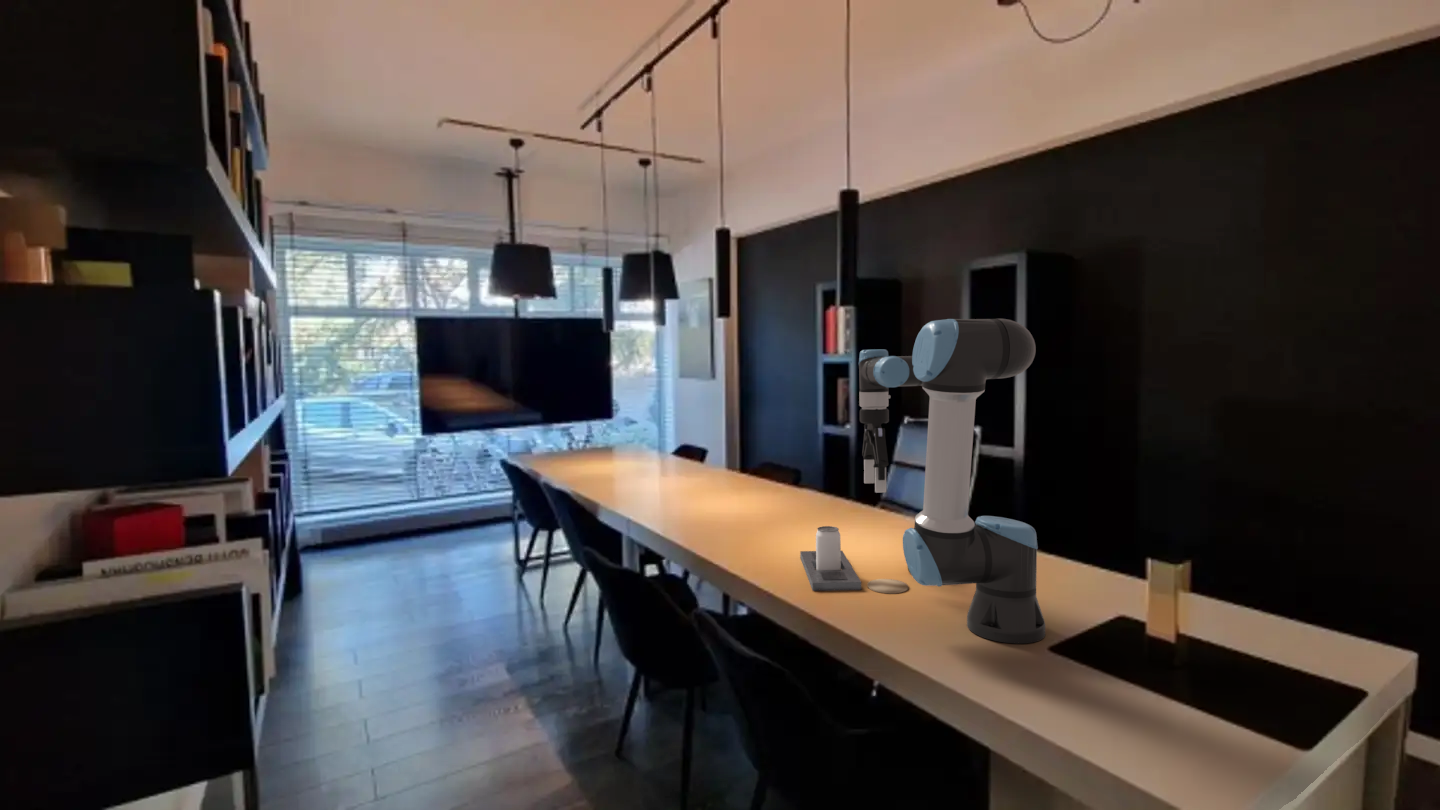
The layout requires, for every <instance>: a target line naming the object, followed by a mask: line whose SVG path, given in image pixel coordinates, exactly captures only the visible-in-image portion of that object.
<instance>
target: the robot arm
mask: <svg viewBox="0 0 1440 810" xmlns="http://www.w3.org/2000/svg"><path fill="white" fill-rule="evenodd" d="M1036 348H1037V347H1036V342H1035V339H1034V337H1033V335H1032V334H1031V332H1030V330H1028V328H1026V327H1025V326H1024V325H1022V324H1020V323H1019V322H1017V321H1014V320H1012V319H1006V318H976V319H975V318H967V319H965V318H964V319H963V318H961V319H960V318H947V319H936V320H931V321H929V322H927V323H925V325H923V326H922V328H921V329H920V331H919V332H918V334H917V336H916V338H915V342H914V345H913V349H912V354H911V355H908V356H907V355H905V356H903V355H901V356H899V355H898V356H896V355H889V351H888V350H887V349H862V350H861V351H860V352H859V358H858V369H859V371H858V372H859V374H858V375H859V381H858V382H859V395H858V396H859V398H858V399H859V401H858V403H859V407H861V408H860V410H859V422H860V423H861V424H864V425H863V427H864V428H863V429H864V431H863V432H864V433H863V443H862V452H861V456H862V457H863V470H864V471H863V483H864V484H874V493H876V494H877V493H882V494H883V493H887V466H889V464H890V462H889V457H888V449H887V441H886V429H885V427H882V424H887V423H889V422H890V410H889V408H887V407H889V405H890V404H889V399H891V395H890V394H889V388H898V387H919V386H921V387H922V390H923V391H925V393H926V394H927V395H928V396H929V402H928V420H927V435H926V436H927V439H926V454H925V468H924V469H925V471H924V490H923V503H922V505H923V508H922V510H921V511H920V512H919V513H917V514H916V515H915V517H914V527H909V528H907V529H905V530H904V533H903V534H902V550H903V554H904V558H905V559H904V561H905V563H906V566H908V567H907V570H908V569H909V571H910V572H909V571H908V572H909V574H910V573H911V574H910V575H911V576H912V578H913V580H914V581H915V582H917V584H919V585H921V586H924V587H925V586H928V587H930V586H933V587H935V586H936V587H942V586H953V585H954V586H956V585H969V584H970V585H971V584H975V591H974V594H973V597H972V599H971V603H970V606H969V609H968V611H967V615H966V626H967V628H968V630H969V631H971V632H972V633H974V634H975V635H977V636H979V637H981V638H984V639H987V640H990V641H994V642H999V643H1006V644H1031V643H1035V642H1038V641H1042V640H1043V639H1044V638H1045V636H1046V622H1045V619H1044V616H1043V613H1042V610H1041V606H1040V604H1039V601H1038V598H1037V573H1038V572H1037V569H1038V568H1037V559H1038V558H1037V557H1038V556H1037V554H1038V549H1039V546H1038V540H1037V539H1038V537H1037V532H1036V529H1035V527H1033V526H1032V525H1030V524H1028V523H1026V522H1023V521H1020V520H1016V519H1013V518H1007V517H1003V516H994V515H980V516H977V517H976V519H975V521H974V520H973V519H972V518H971V517H970V516H969V513H968V511H969V500H970V499H969V498H970V487H971V484H970V483H971V473H972V472H971V471H972V470H971V469H972V456H973V443H974V432H975V431H974V429H975V428H974V427H975V418H976V417H975V416H976V402H977V401H976V400H977V399H978V398H979V397H980V396H981V395H982V394H983V393H985V390H986V381H987V380H997V379H1007V378H1011V377H1015V376H1017V375H1019V374H1022V373H1023V372H1026V370H1027V369H1028V368H1029V367H1030V366H1031V365H1032V364H1033V361H1034V359H1035V357H1036V351H1037V350H1036Z"/></svg>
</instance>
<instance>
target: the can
mask: <svg viewBox="0 0 1440 810" xmlns="http://www.w3.org/2000/svg"><path fill="white" fill-rule="evenodd" d="M816 529H817V531H816V534H815V551H816V569H815V570H842V569H841V551H842V550H841V533H840V531H839V530H840V529H839V527H837V526H830V525H825V526H823V525H822V526H819V527H817V528H816Z"/></svg>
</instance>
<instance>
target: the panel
mask: <svg viewBox="0 0 1440 810" xmlns="http://www.w3.org/2000/svg"><path fill="white" fill-rule="evenodd" d="M799 552H800V553H799V554H800V555H799V556H800V561H801V564H802V567H803V568H804V571H805V573H806V577H807V579H808V582H809V585H810V588H811V590H812V592H822V591H823V592H824V591H827V592H828V591H831V592H832V591H862V581H861V580H860V577H859V576H858V574H857V572H856V571H855V570H854V567H853V566H852V564H851V562H850V561H849V560H848V558H847V556H846V554H845V553H844V551H843V550H841V570H816V550H802V551H799Z"/></svg>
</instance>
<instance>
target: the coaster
mask: <svg viewBox="0 0 1440 810" xmlns="http://www.w3.org/2000/svg"><path fill="white" fill-rule="evenodd" d="M867 588H868V589H869V590H871V591H873V592H875V593H880V594H887V595H889V594H890V595H891V594H902V593H905V592H908V591H909V589H910V588H909V585H908V584H907V582H904V581H902V580H898V579H892V578H891V579H890V578H876V579H873V580H870V581H868V582H867Z"/></svg>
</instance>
